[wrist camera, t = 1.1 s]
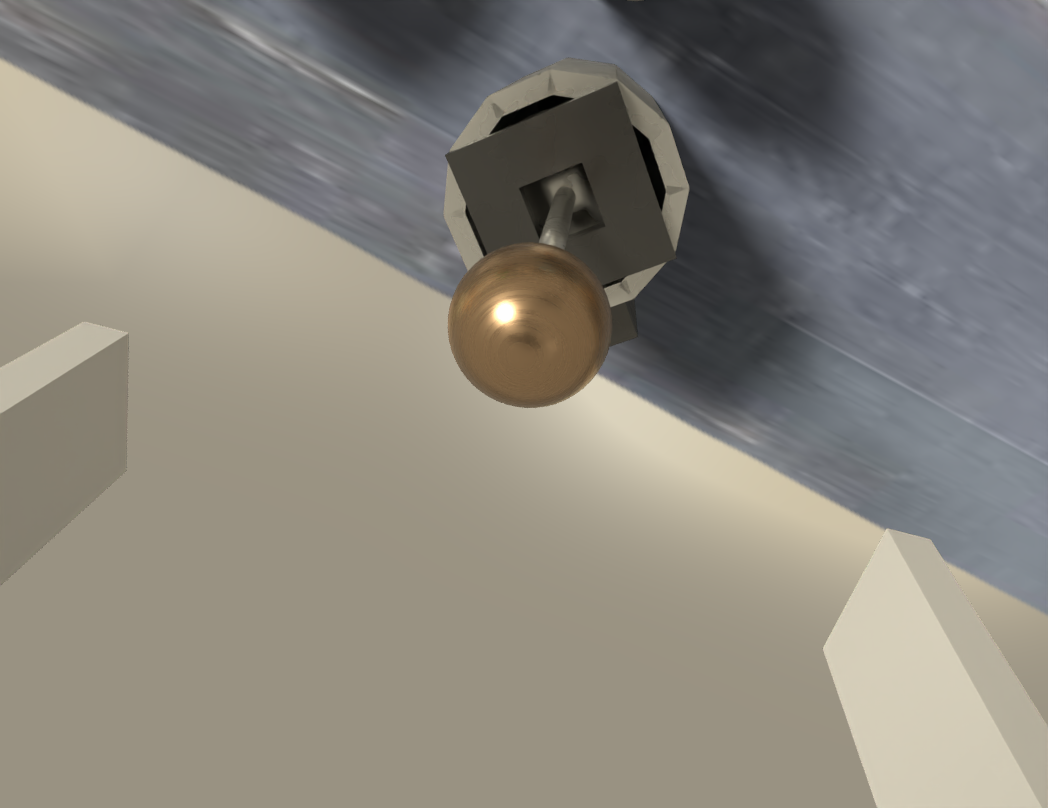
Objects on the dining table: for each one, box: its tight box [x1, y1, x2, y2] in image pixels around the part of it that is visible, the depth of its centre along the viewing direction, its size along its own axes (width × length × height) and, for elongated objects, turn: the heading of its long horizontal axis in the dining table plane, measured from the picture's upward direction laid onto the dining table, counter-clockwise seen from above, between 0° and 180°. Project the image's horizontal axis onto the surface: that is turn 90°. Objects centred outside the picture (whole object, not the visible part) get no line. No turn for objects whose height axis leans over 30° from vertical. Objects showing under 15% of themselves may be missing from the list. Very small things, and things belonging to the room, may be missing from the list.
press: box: [444, 57, 689, 347], centre depth 44 cm, size 11×14×17 cm
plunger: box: [448, 108, 647, 408], centre depth 29 cm, size 8×8×21 cm
